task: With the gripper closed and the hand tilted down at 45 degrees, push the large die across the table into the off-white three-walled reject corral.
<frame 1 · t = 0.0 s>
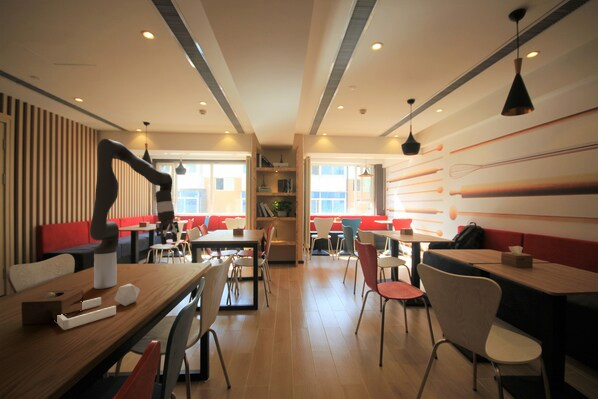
hand: (169, 243, 128), 22 cm above the table, tool pointing down, fingers open, 8 cm apart
die: (127, 304, 108), on the table
corral: (86, 315, 97), on the table
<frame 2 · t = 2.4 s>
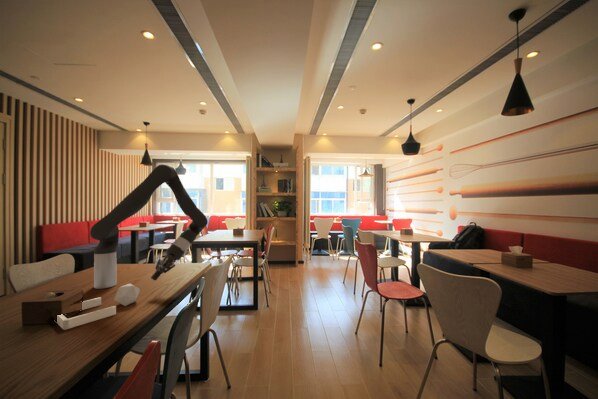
hand: (153, 279, 117), 8 cm above the table, tool tilted 45°, fingers closed
nothing on the table moved.
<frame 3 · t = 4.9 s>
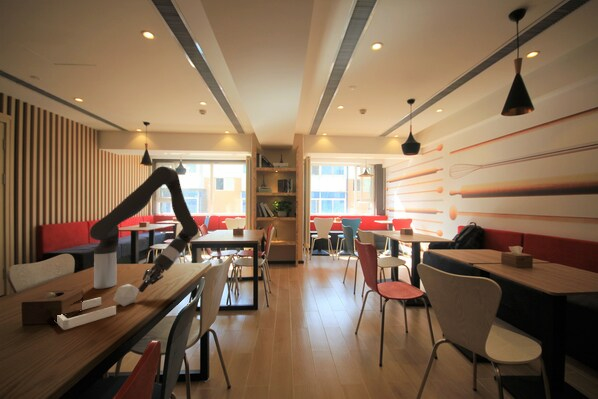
hand: (139, 291, 112), 4 cm above the table, tool tilted 45°, fingers closed
die: (126, 304, 108), on the table, touching gripper
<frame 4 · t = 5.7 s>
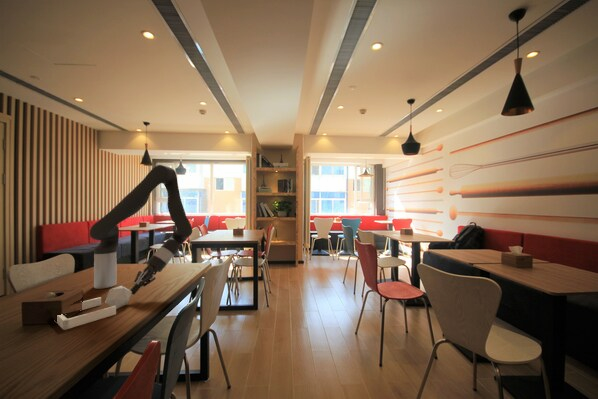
hand: (131, 293, 110), 4 cm above the table, tool tilted 45°, fingers closed
die: (118, 306, 105), on the table, touching gripper
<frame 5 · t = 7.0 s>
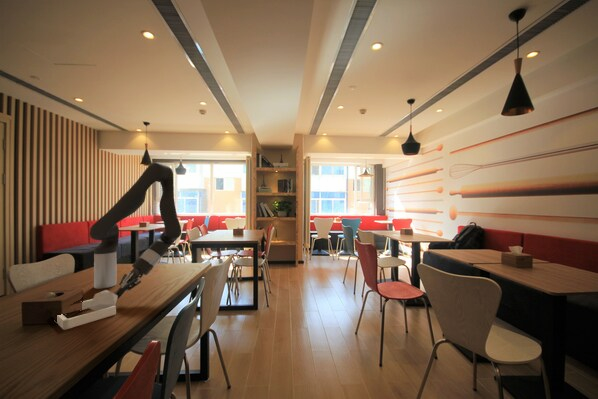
hand: (115, 297, 105), 4 cm above the table, tool tilted 45°, fingers closed
die: (104, 312, 100), on the table, touching gripper
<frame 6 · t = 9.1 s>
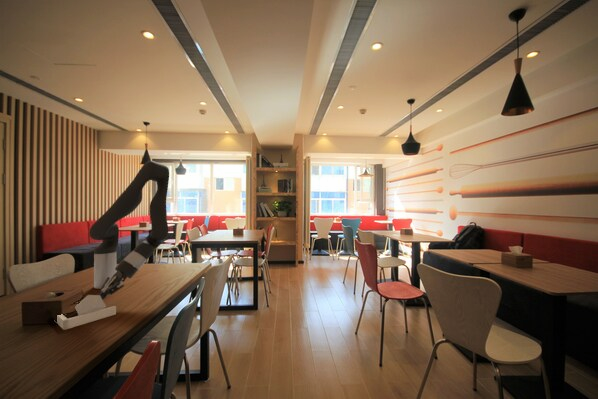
hand: (96, 302, 100), 4 cm above the table, tool tilted 45°, fingers closed
die: (91, 317, 95), on the table, touching gripper
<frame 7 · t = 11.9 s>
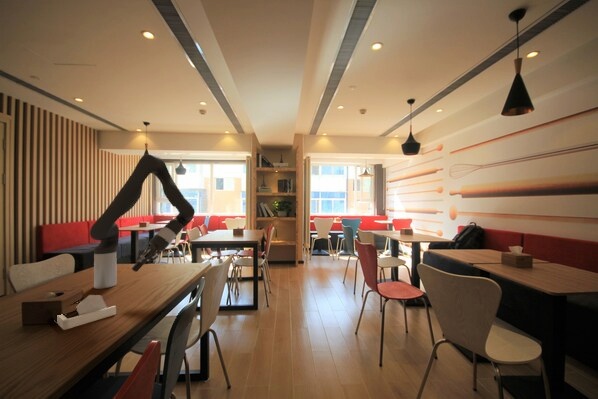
hand: (133, 270, 111), 13 cm above the table, tool tilted 45°, fingers closed
die: (91, 317, 95), on the table
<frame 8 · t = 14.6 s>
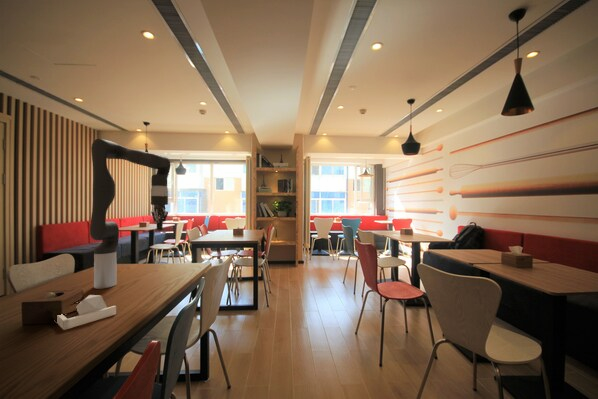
hand: (159, 230, 127), 29 cm above the table, tool pointing down, fingers closed
nothing on the table moved.
at the end: die inside the target area (4.1 cm from its centre), on the table; die tilted 0°; die moved 13.8 cm from its start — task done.
